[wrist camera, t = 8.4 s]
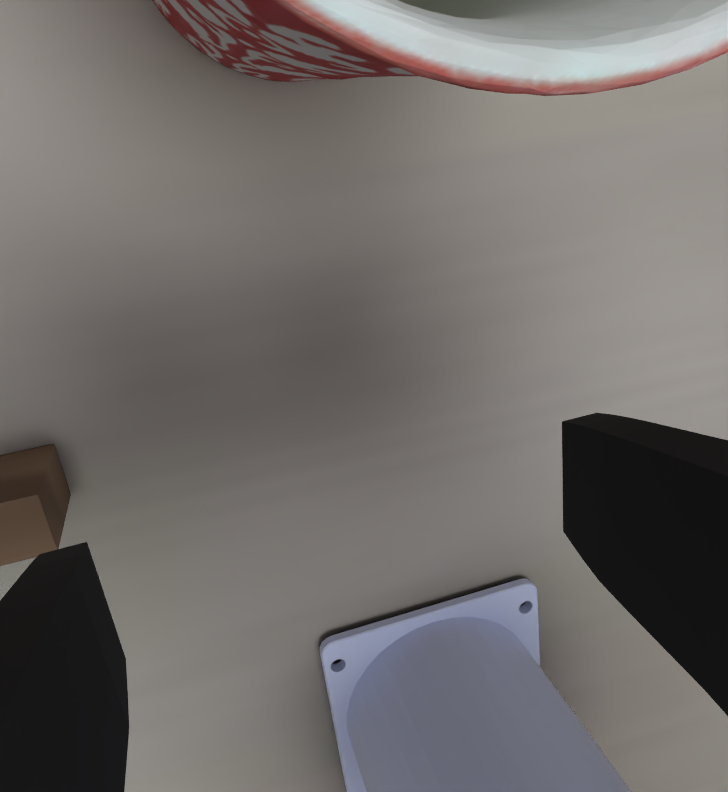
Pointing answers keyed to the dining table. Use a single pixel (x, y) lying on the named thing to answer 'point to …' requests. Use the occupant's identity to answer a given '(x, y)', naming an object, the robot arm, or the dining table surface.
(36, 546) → the rail
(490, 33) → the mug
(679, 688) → the dining table surface
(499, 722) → the robot arm
